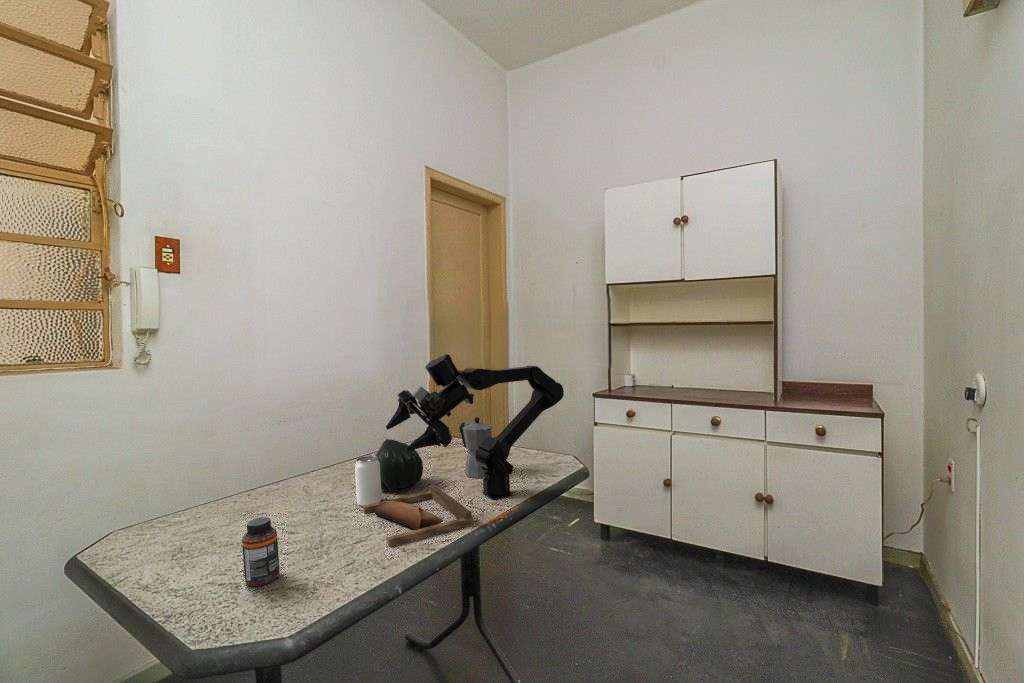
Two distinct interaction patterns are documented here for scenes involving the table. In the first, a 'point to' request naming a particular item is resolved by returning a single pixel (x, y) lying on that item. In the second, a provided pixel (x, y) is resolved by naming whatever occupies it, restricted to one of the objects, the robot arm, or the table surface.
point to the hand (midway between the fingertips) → (396, 438)
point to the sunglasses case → (407, 514)
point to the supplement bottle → (260, 552)
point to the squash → (398, 465)
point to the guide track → (450, 505)
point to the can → (368, 480)
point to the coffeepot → (474, 445)
